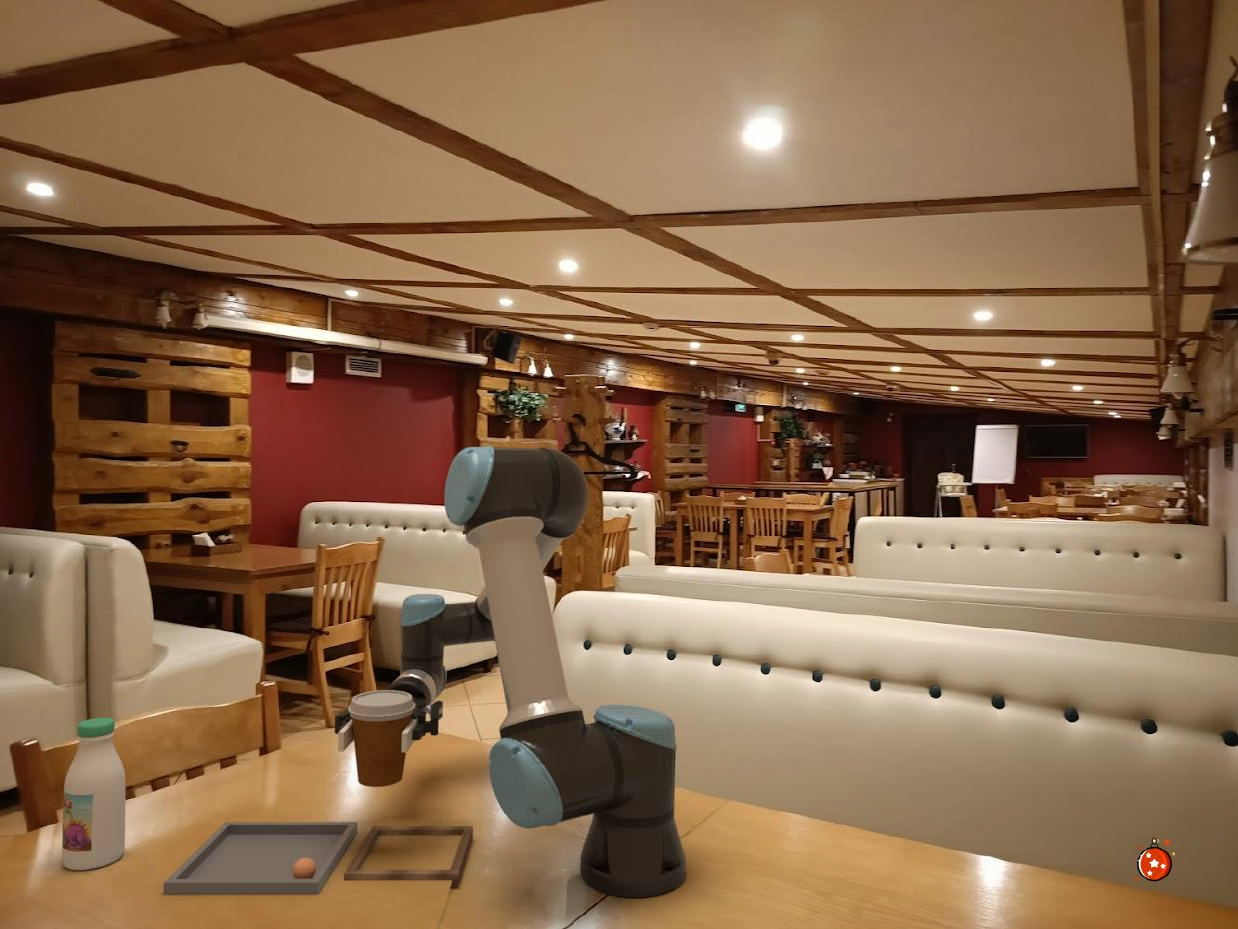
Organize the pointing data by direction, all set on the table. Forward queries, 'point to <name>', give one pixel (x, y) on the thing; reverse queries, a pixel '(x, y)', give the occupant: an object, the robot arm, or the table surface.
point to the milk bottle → (94, 800)
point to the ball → (304, 869)
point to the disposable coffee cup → (380, 735)
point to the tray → (262, 858)
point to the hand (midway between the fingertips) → (372, 742)
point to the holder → (451, 874)
